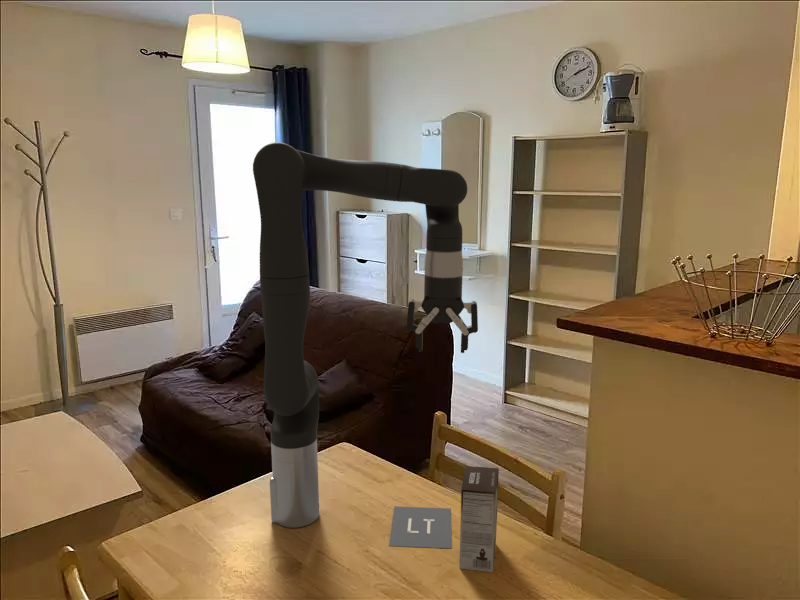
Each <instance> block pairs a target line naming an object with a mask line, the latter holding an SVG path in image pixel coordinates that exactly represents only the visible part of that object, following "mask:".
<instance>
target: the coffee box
mask: <svg viewBox="0 0 800 600" xmlns="http://www.w3.org/2000/svg"><path fill="white" fill-rule="evenodd" d="M499 470H500V469H499V467H498V468H497V467H484V466H470V465H469V466H468V465H465V467H464V471H463V472H464V473H463V478H462V484H461V489H460V490H461V493H460V494H461V495H460V529H459V530H460V535H459V537H460V538H459V539H460V540H459V569H462V570H471V571H477V572H487V573H494V570H495V558H496V548H497V547H496V546H497V545H496V544H497V525H498V502H499V501H498V499H499V472H500V471H499Z"/></svg>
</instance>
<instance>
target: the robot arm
mask: <svg viewBox="0 0 800 600" xmlns="http://www.w3.org/2000/svg"><path fill="white" fill-rule="evenodd" d="M252 173H253V178H254V184H255V188H256V194H257V200H258V208H259V215H260V216H259V217H260V238H259V239H260V240H259V285H260V286H259V287H260V298H261V299H260V300H261V307H262V309H261V310H262V312H261V313H262V323H263V324H262V325H263V333H264V343H265V345H264V348H265V349H264V350H265V353H264V371H263V372H264V373H263V374H264V375H263V396H264V398H265V401H266V403H267V405H268V407H269V408H270V409H271V410H272V411H273V412H274V414H273V418H272V419H273V420H272V423H271V427H270V449H271V451H270V452H271V469H272V470H271V471H272V473H271V474H272V475H271V477H270V478H269V492H270V498H269V499H270V516H271V517H270V518H271V520H270V521H271V523H274V524H277V525H280V526H282V527H285V528H301V527H306V526H308V525H311V524H313V523H314V522H315V521H317V519H318V518H319V516H320V494H319V493H320V491H319V466H318V465H319V464H318V461H319V460H318V459H319V457H318V425H319V421H320V420H319V419H320V385H319V384H320V383H319V377H318V374H317V372H316V369H315V368H314V367H313V365H312V364H311V363H309V362H308V361H306V360H305V359H304V339H305V333H306V328H307V322H308V316H309V310H310V309H309V308H310V302H311V301H310V300H311V284H310V282H311V281H310V266H309V257H308V250H307V245H306V239H305V235H304V229H303V221H302V207H303V206H302V203H303V201H302V200H303V191H326V192H334V193H341V194H347V195H351V196H356V197H362V198H365V199H367V198H368V199H372V200H373V199H375V200H382V201H389V202H399V203H417V204H421V205H424V206H425V215H426V226H427V227H426V241H425V242H426V243H425V244H426V245H425V247H426V248H425V249H426V252H425V258H424V284H423V285H424V287H423V290H424V292H423V293H424V295H423V300H422V301H421V300H420V301H419V300H415V299H413V298H411V299H410V300H409V302H408V303H407V304H408V306H407V318H406V319H407V320H406V329H407V330H408V331H409V332H413V333H414V334H415V335H414V336H415V338H414V339H415V340H414V341H415V343H414V345H415V346H414V347H415V349H418V352H423V346H424V345H423V341H424V333H423V332H424V330H425V328H426V327H427V326H428V325H429V324H430V323H431V322H432V323H434V324H440V323H443V324H445V325H446V324H449V325H450V324H451V323H454V325H455V326H456V327H457V328H458V329H459V330H460V334H461V336H460V353H461V354H465V351H468V349H469V335H471V334H475V333H477V332H478V331H479V323H478V321H479V320H478V303H477V301H475V300H472V301H471V302H464V301H463V299H462V298H463V276H464V275H463V272H464V267H463V265H464V260H463V259H464V258H463V225H462V223H461V222H460V217H459V214H460V213H459V211H460V210H459V209H460V208H459V207H460V206H459V205H460V204H461V203H462V202H463V201H465V199H466V197H467V194H468V184H467V181H466V179H465V178H464V176H463V175H462V174H461V173H459V172H457V171H455V170H451V169H438V168H429V167H427V168H426V167H415V166H411V165H407V164H402V163H393V162H385V161H376V160H375V161H374V160H364V159H363V160H360V159H341V158H331V157H326V156H321V155H316V154H312V153H309V152H306V151H302V150H299V149H296V148H294V147H293V146H291V145H289V144H288V143H284V142H280V141H279V142H275V141H274V142H271V143H268V144H266V145H264V146H263V147H261V148H260V149H259V151H258V152H257V153H256V154H255V157H254V159H253V163H252ZM420 308H421V309H422V310H423V312H424V313H425V315H424V316H423V318H422V319H421V321H419V323H418V324H415V323H414V321H415V313H417V312H418V311H419V309H420ZM464 309H466V312H467V313H468V314H470V316H471V317H470V319H471V320H470V321H471V325H467V324H466V323H465V322H464V320H463V319H462V317H461V316H460V314H461V313H462V311H463V310H464Z"/></svg>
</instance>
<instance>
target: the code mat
mask: <svg viewBox="0 0 800 600" xmlns="http://www.w3.org/2000/svg"><path fill="white" fill-rule="evenodd" d="M452 545H453V544H452V510H451V508H449V507H446V508H443V507H441V508H440V507H419V506H417V507H416V506H413V507H412V506H398V505H397V506H394V507H393V515H392V523H391V530H390V536H389V542H388V547H396V548H397V547H401V548H419V549H420V548H423V549H424V548H425V549H446V550H447V549H448V550H451V549H452Z"/></svg>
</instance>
